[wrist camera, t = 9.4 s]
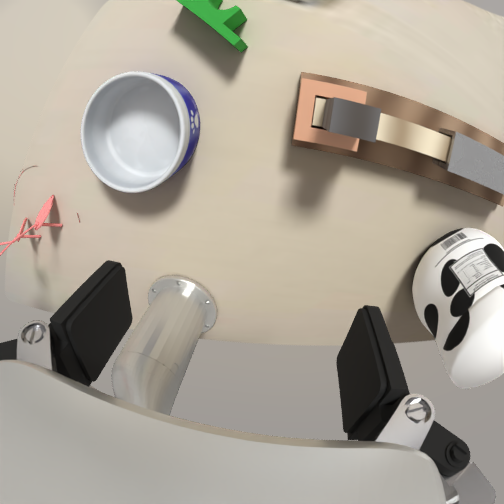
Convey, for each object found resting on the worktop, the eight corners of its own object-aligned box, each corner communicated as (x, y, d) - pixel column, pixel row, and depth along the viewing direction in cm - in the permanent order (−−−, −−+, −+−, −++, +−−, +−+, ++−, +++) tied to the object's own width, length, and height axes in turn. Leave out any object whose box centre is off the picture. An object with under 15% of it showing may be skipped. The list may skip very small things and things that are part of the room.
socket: (360, 93, 26) (366, 91, 24) (351, 147, 30) (356, 151, 27) (301, 80, 27) (301, 78, 24) (293, 136, 30) (293, 139, 27)
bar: (461, 143, 26) (505, 160, 18) (457, 165, 27) (498, 187, 19) (314, 98, 27) (322, 94, 19) (310, 123, 29) (317, 129, 21)
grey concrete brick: (511, 162, 25) (528, 170, 21) (503, 192, 27) (519, 202, 23) (439, 127, 26) (456, 131, 22) (432, 162, 28) (447, 170, 25)
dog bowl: (218, 160, 34) (203, 170, 29) (127, 194, 39) (104, 208, 33) (181, 55, 28) (160, 48, 23) (94, 105, 32) (67, 109, 27)
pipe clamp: (264, 34, 26) (259, 24, 22) (241, 53, 27) (233, 45, 23) (204, -13, 22) (192, -25, 18) (183, 5, 24) (169, -5, 20)
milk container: (454, 319, 41) (487, 395, 25) (386, 296, 40) (415, 389, 25) (505, 243, 32) (562, 308, 17) (442, 201, 32) (516, 271, 16)
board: (511, 149, 25) (517, 151, 24) (497, 202, 29) (503, 206, 28) (301, 73, 27) (301, 71, 26) (291, 143, 32) (291, 145, 31)
